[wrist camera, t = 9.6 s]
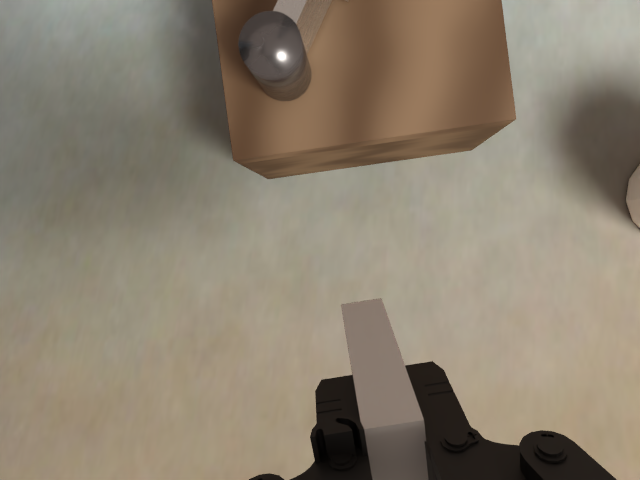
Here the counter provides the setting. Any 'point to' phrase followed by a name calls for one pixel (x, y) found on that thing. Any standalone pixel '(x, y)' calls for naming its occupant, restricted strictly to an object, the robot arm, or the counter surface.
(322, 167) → the platform
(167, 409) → the counter surface
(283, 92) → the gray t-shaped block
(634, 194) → the white cup
